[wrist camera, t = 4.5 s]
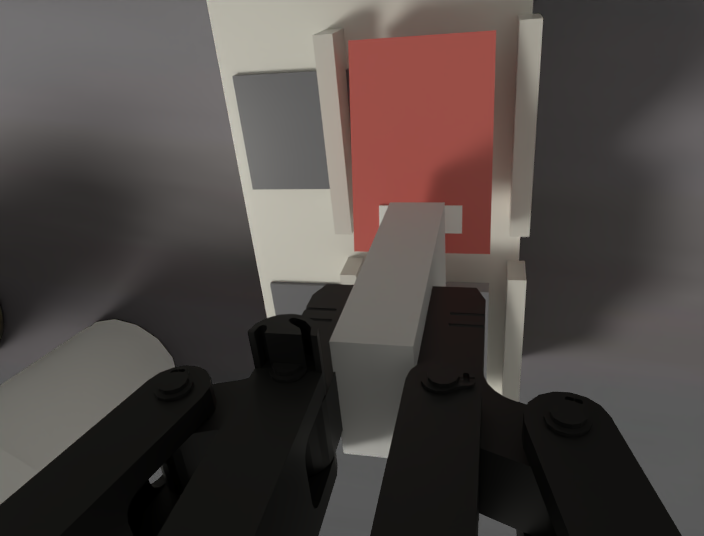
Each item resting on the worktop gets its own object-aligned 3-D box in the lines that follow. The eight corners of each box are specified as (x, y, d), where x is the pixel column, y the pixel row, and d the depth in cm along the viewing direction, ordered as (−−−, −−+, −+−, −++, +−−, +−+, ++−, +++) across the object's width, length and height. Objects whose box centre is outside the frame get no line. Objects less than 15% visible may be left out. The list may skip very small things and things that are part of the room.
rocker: (357, 46, 17) (347, 40, 16) (496, 37, 16) (496, 29, 15) (363, 243, 18) (353, 252, 17) (490, 246, 17) (490, 254, 16)
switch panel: (209, -365, 18) (81, -506, 12) (555, -454, 15) (587, -678, 10) (314, 347, 30) (274, 434, 25) (511, 360, 28) (515, 459, 23)
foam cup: (66, 270, 32) (-166, 441, 21) (216, 339, 32) (64, 547, 21) (53, 383, 37) (-139, 570, 26) (183, 442, 37) (47, 655, 26)
